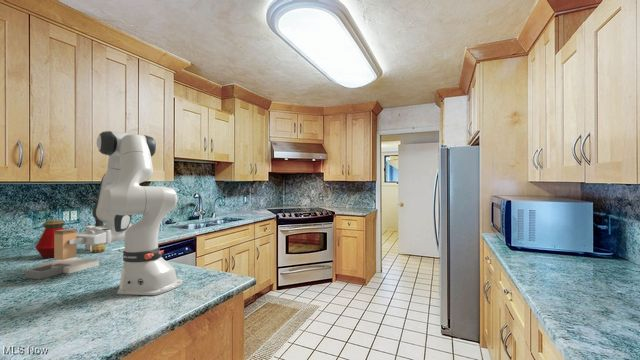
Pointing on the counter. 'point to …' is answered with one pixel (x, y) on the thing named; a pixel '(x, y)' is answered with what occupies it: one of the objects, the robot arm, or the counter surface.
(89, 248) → the syrup box
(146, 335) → the counter surface
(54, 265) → the white slab
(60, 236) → the tan upright wooden block
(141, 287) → the robot arm
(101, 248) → the sauce bottle
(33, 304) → the counter surface
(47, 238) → the red faceted jar
